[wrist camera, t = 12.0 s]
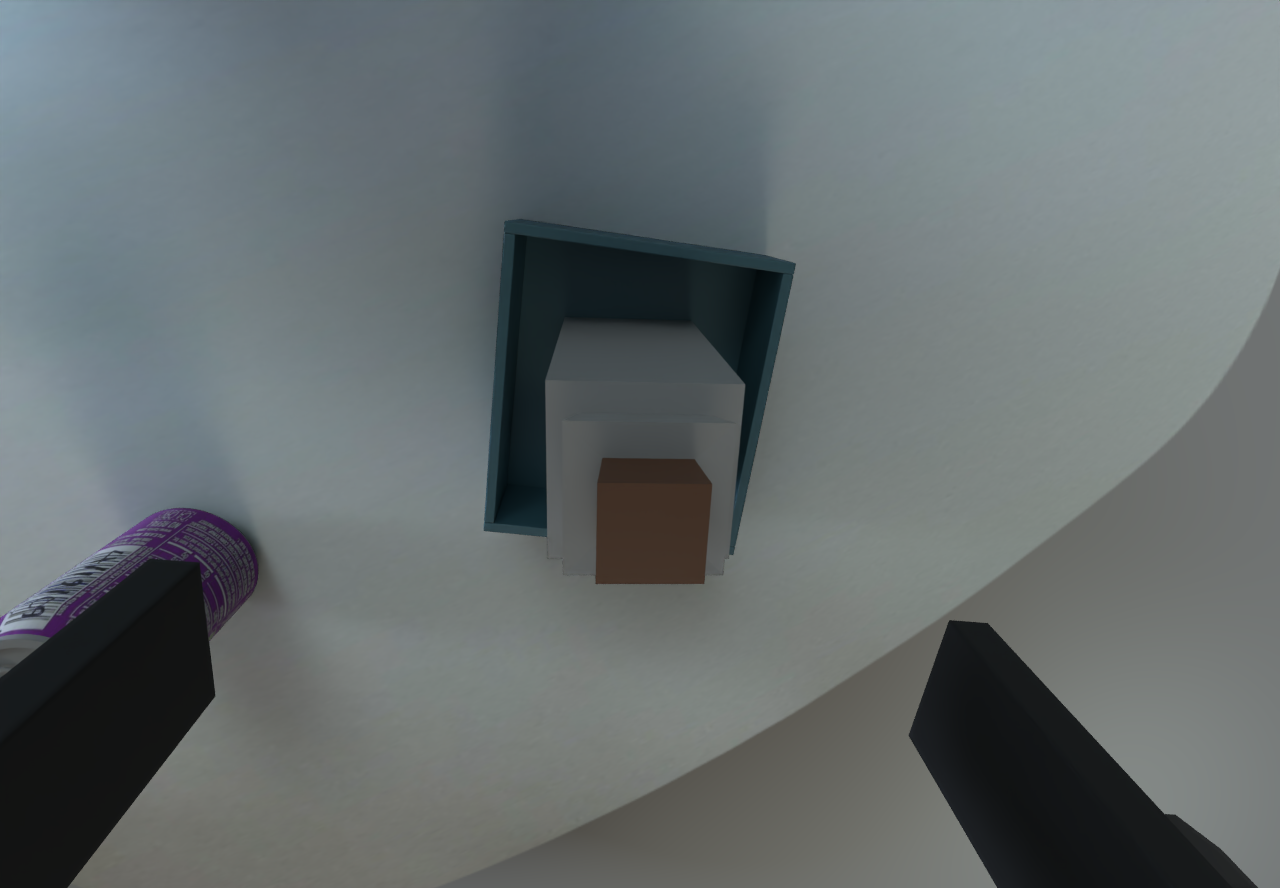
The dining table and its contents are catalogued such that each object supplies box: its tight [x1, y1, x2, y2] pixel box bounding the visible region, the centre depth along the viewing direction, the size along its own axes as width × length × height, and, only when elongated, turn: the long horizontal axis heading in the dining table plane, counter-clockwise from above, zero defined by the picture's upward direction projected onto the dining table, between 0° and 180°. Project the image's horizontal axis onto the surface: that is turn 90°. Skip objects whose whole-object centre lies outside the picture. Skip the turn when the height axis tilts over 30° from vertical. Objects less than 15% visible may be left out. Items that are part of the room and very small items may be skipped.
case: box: [484, 219, 796, 555], centre depth 33 cm, size 15×13×6 cm
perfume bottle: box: [545, 317, 745, 584], centre depth 27 cm, size 7×7×18 cm
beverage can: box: [0, 508, 258, 678], centre depth 33 cm, size 7×7×12 cm
